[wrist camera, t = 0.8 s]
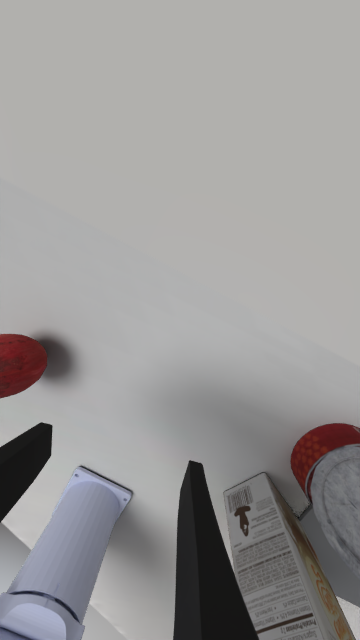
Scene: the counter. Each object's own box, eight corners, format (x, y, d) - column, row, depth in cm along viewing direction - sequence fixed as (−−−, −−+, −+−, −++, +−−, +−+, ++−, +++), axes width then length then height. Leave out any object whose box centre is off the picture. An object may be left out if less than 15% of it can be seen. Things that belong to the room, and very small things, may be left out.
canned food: (275, 445, 26) (270, 513, 18) (314, 393, 23) (331, 444, 15) (370, 516, 21) (428, 659, 13) (434, 462, 18) (566, 599, 10)
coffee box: (303, 523, 22) (584, 1116, 6) (259, 541, 23) (402, 1092, 7) (264, 469, 21) (469, 990, 5) (219, 491, 22) (283, 982, 6)
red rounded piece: (52, 320, 19) (-41, 341, 12) (72, 367, 20) (-2, 416, 12) (8, 334, 20) (-109, 363, 12) (29, 379, 21) (-68, 433, 13)
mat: (368, 608, 24) (370, 612, 24) (263, 556, 24) (264, 559, 23) (425, 560, 22) (429, 563, 22) (313, 501, 22) (315, 504, 21)
